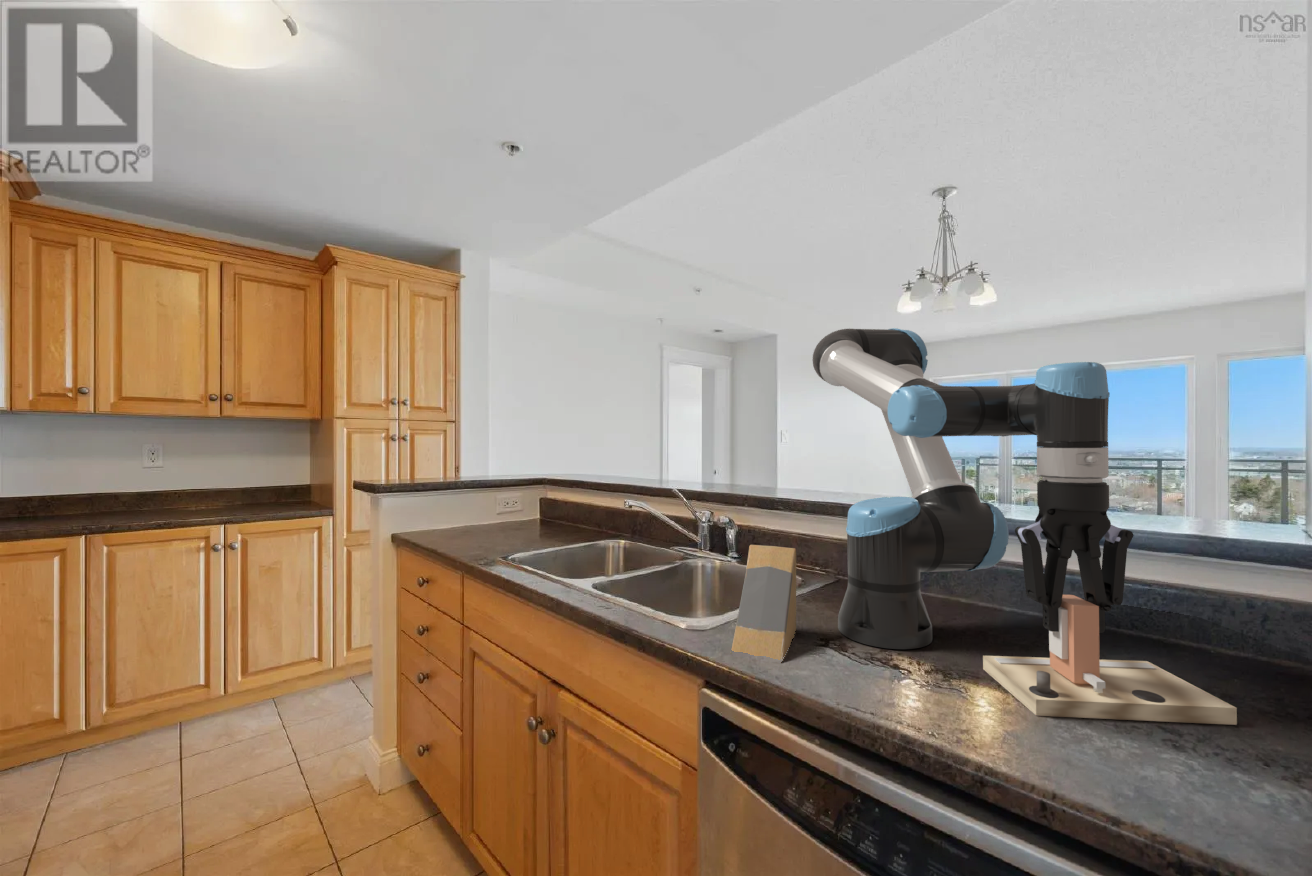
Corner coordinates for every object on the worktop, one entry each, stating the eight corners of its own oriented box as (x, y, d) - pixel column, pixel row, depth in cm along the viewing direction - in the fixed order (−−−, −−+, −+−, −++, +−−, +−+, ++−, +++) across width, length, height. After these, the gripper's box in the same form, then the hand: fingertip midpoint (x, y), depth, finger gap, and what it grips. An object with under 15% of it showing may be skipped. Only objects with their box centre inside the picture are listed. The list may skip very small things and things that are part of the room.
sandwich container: (727, 657, 83) (726, 562, 83) (749, 625, 97) (748, 544, 97) (782, 665, 80) (781, 567, 80) (797, 631, 94) (796, 547, 94)
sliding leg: (1087, 692, 65) (1087, 612, 65) (1050, 666, 73) (1049, 594, 73) (1114, 693, 65) (1113, 612, 65) (1073, 667, 72) (1072, 594, 72)
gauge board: (1036, 715, 65) (1035, 679, 65) (983, 669, 78) (982, 639, 78) (1236, 724, 62) (1236, 687, 62) (1147, 675, 75) (1147, 644, 75)
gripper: (1022, 482, 67) (1024, 665, 67) (1162, 481, 65) (1164, 670, 65) (992, 477, 75) (994, 642, 75) (1117, 477, 73) (1118, 646, 73)
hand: (1073, 655), depth 70 cm, fingers closed on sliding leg, 3 cm apart
